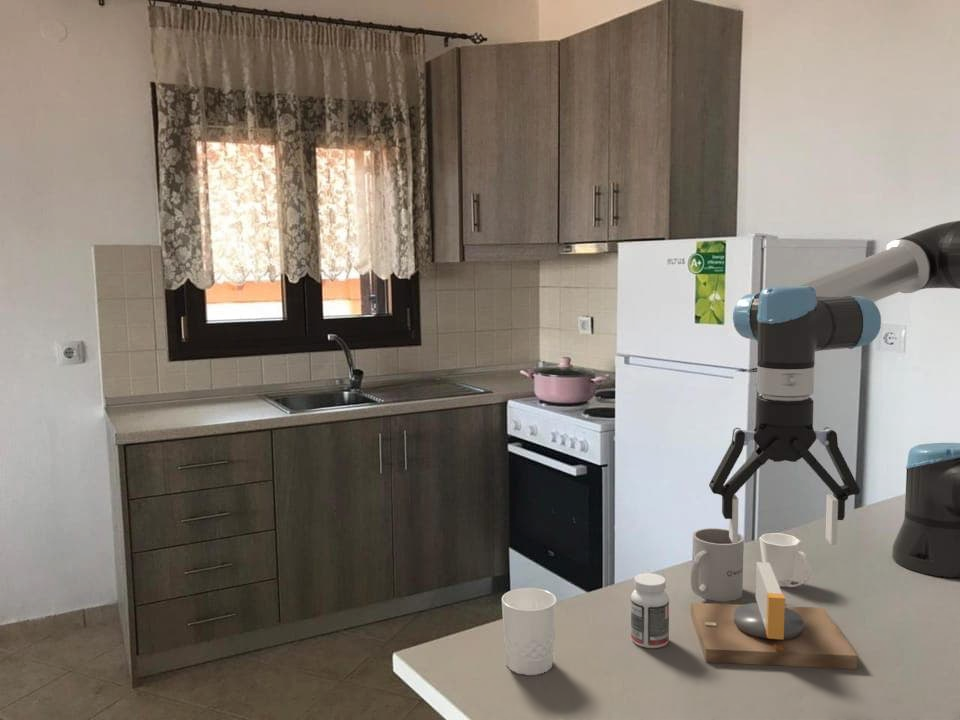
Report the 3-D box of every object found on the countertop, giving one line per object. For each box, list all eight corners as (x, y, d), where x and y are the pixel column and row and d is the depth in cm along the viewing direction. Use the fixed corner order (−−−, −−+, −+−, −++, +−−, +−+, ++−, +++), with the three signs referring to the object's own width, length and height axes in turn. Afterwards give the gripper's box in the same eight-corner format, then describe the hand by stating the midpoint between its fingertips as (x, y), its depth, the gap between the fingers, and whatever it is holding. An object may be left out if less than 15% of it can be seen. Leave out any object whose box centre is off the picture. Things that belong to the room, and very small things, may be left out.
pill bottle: (670, 635, 126) (671, 574, 124) (666, 652, 120) (667, 588, 119) (633, 630, 127) (634, 570, 126) (628, 646, 122) (628, 583, 121)
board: (823, 619, 130) (823, 606, 130) (857, 669, 114) (857, 654, 114) (690, 614, 133) (690, 601, 133) (705, 662, 117) (706, 647, 117)
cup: (776, 571, 150) (777, 530, 149) (822, 590, 142) (823, 546, 141) (749, 579, 147) (750, 536, 146) (795, 598, 138) (796, 553, 137)
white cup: (540, 683, 112) (540, 615, 111) (492, 669, 116) (491, 602, 115) (565, 659, 118) (565, 594, 117) (519, 646, 123) (518, 583, 121)
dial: (729, 602, 131) (730, 559, 130) (794, 607, 129) (796, 563, 128) (739, 643, 117) (740, 595, 116) (812, 649, 115) (813, 600, 114)
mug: (714, 577, 148) (715, 525, 147) (752, 593, 141) (754, 538, 140) (666, 593, 141) (667, 538, 140) (704, 610, 134) (706, 552, 133)
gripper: (698, 401, 111) (697, 548, 114) (888, 400, 108) (882, 551, 111) (690, 392, 119) (689, 530, 121) (868, 390, 116) (863, 532, 118)
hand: (781, 540), depth 116 cm, fingers open, 13 cm apart
